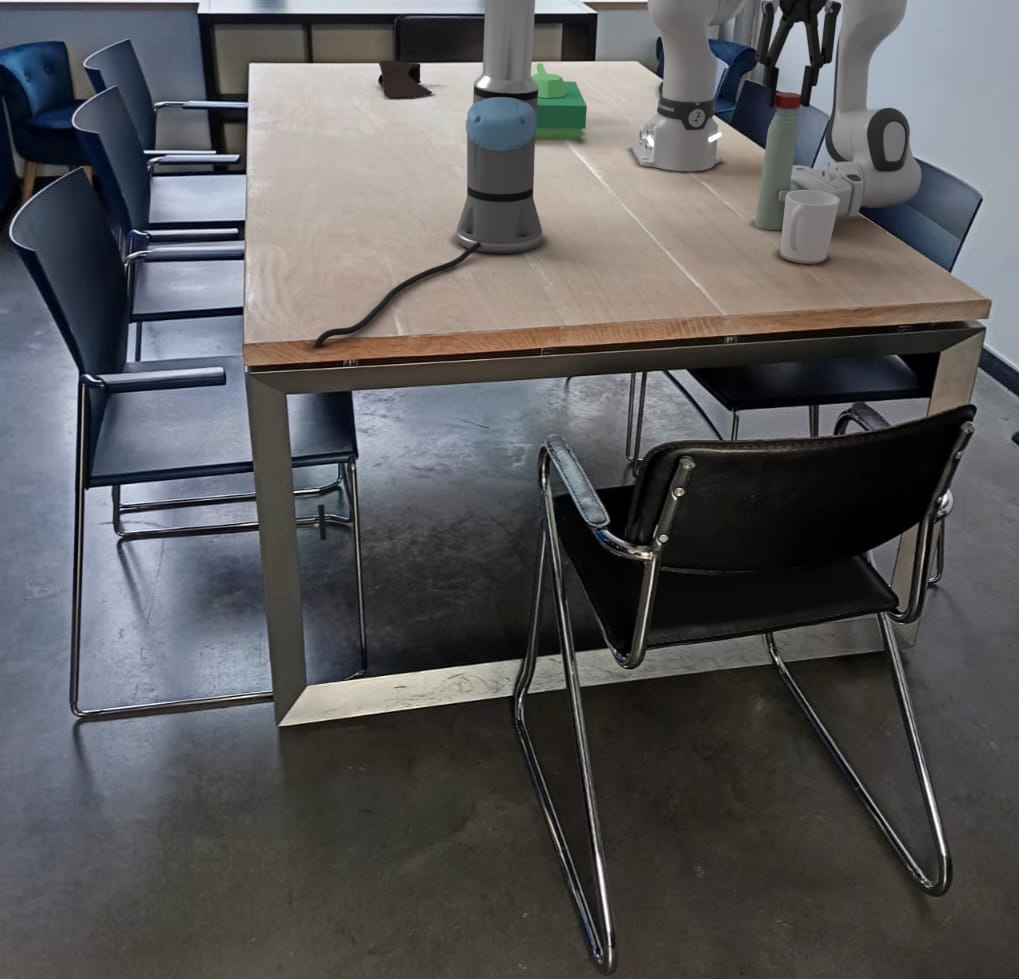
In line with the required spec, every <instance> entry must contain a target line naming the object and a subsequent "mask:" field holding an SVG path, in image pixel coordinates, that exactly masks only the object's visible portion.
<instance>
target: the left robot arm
mask: <svg viewBox="0 0 1019 979" xmlns="http://www.w3.org/2000/svg"><path fill="white" fill-rule="evenodd" d="M484 1H485V4H484V26H483V27H484V28H483V29H484V30H483V53H482V54H483V56H482V72H481V75H479V77H478V78H476V80H475V81H473V94H472V95H473V98H472V105H471V106H470V107H469V109H468V111H467V117H466V120H465V121H466V122H465V130H466V192H467V193H466V198H465V202H464V205H463V209H462V211H461V214H460V218H459V220H458V224H457V227H456V241H457V243H458V244H459V245H461V246H462V247H464V248H466V250H465V251H464V252H462V254H461V255H459V256H458V257H456V258H454V259H453V260H451V261H448V262H446V263H443V264H440V265H437V266H434V267H431V268H428V269H426V270H424V271H422V272H420V273H417V274H416V275H414V276H411V277H410V278H407V279H406V280H404V281H403V282H401V283H400V284H398V285H397V286H395V287H393V288H392V289H390V291H389V292H388V293H387V294H386V295H385V296H384V297H383V299H381V301H380V302H379V303H378V304H377V305H376V306H375V307H374V308H373V309H372V310H371V311H370V312H369V313H368V314H367V315H366V316H365V317H364V318H363V319H362V320H361V321H359V322H357V323H356V324H354V325H352V326H348V327H338V328H331V329H328V330H326V331H324V332H323V333H321V334H320V335H319V336H318V338H317V339H316V340H315V342H314V344H313V347H312V348H313V349H319V348H321V347H322V345H323V343H324V342H325V341H326V340H328V339H329V338H331V337H336V336H346V335H347V336H348V335H351V334H354V333H356V332H358V331H360V330H362V329H363V328H365V327H366V326H367V325H368V324H370V323H371V322H372V321H373V320H374V319H375V318H376V317H377V316H378V315H379V313H381V312H382V311H383V310H384V309H385V307H387V305H388V304H389V302H391V300H392V299H393V298H394V297H395V296H396V295H398V294H399V293H400V292H402V291H403V290H404V289H406V288H407V287H409V286H411V285H412V284H415V283H417V282H419V281H421V280H423V279H425V278H426V277H430V276H432V275H434V274H437V273H441V272H443V271H445V270H449V269H451V268H453V267H456V266H457V265H460V264H461V263H462V262H463V261H464V260H466V259H467V258H468V257H469V256H470V255H472V254H473V253H474V252H479V253H486V254H497V255H499V254H500V255H506V254H507V255H508V254H517V253H524V252H527V251H530V250H533V249H536V248H538V247H539V246H540V245H541V244H542V243H543V229H542V224H541V221H540V220H541V219H540V218H539V214H538V213H539V212H538V210H537V206H536V204H535V199H534V184H535V181H534V180H535V157H536V156H535V151H536V140H535V136H536V131H537V105H538V84H537V83H536V82H535V81H534V80H533V78H532V77H531V76H532V62H533V48H534V47H533V45H534V31H535V30H534V29H535V28H534V27H535V13H536V11H535V10H536V0H484ZM760 6H761V13H762V17H761V24H760V28H759V35H758V39H757V45H756V50H755V56H754V60H755V62H756V63H758V64H760V65H763V66H764V69H763V77H762V85H763V87H765V88H766V90H765V91H766V92H765V96H764V97H765V99H764V105H765V106H767V107H768V108H771V109H772V108H775V106H774V103H775V96H776V93H777V88H778V82H779V74H780V68H779V67H777V63H778V61H779V58H780V56H781V53H782V51H783V48H784V46H785V44H786V41H787V39H788V37H789V34H790V32H791V30H792V29H793V27H794V25H795V24H797V23H798V24H799V23H801V22H802V23H803V25H804V27H805V33H806V42H807V49H808V51H807V52H808V58H809V64H810V65H808V64H807V65H806V64H805V65H804V70H803V76H802V83H801V90H800V95H801V101H800V106H803V107H804V108H809V107H810V103H811V96H812V91H813V87H817V85H818V83H819V82H818V81H819V77H820V70H821V69H822V68H823V66H824V65H827V64H828V65H829V64H831V63H832V62H833V55H834V46H835V38H836V29H837V19H838V16H839V14H840V12H841V9H842V3H841V2H839V1H836V0H769V1H768V0H763V1H762V2H761V5H760ZM778 7H779V9H780V11H781V13H782V14H781V16H780V19H779V23H778V27H777V29H776V32H775V35H774V37H773V39H771V38H772V33H773V28H774V21H775V14H776V13H777V12H778ZM823 8H824V10H823ZM822 10H823V11H824V13H825V14H824V18H823V28H822V37H821V44H820V37H819V18H818V15H819V14H820V12H821V11H822ZM771 40H772V42H771ZM770 43H771V44H770ZM317 511H318V523H319V537H320V538H319V539H320V540H321V541H323V542H324V541H327V525H326V513H325V504H317Z"/></svg>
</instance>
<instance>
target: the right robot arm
mask: <svg viewBox="0 0 1019 979" xmlns="http://www.w3.org/2000/svg"><path fill="white" fill-rule="evenodd" d="M746 2H747V0H647V12H648V16H649V18H650V20H651V22H652V23H653V24H654V25H655V26H656V28H657V29H658V31H659V35H660V38H661V43H662V48H663V58H664V59H663V60H664V64H663V67H664V68H663V80H662V81H661V82H660V84H659V86H658V93H659V99H658V102H657V108H656V113H655V114H654V115H653V116H652V118H650V120H649V121H648V122H646V124H644V127H643V129H640V130H639V140H640V141H642V142H639V143H634V144H632V145H631V150H632V152H633V154H634V156H635V158H636V159H637V161H638V163H639V164H640V166H643V167H650V168H657V169H661V170H662V169H663V170H665V171H666V170H667V171H674V172H675V171H676V172H697V171H698V172H699V171H700V172H701V171H705V170H710V169H711V168H713V167H714V166H715V165H717V164H720V163H721V162H722V156H720V155H718V152H717V151H718V138H720V137H722V133H721V132H718V131H719V126H718V123H717V122H716V121H715V120H714V118H713V117H714V116H715V110H716V98H715V90H716V80H717V73H718V59H717V56H716V55H715V53H714V52H713V51H712V50H711V48H710V44H709V36H708V29H709V27H714V26H720V25H722V24H724V23H726V22H729V21H731V20H732V19H734V18H735V17H738V16H739V14H740V13H741V12H742V11H743V9H744V8H745V6H746V5H745V4H746ZM907 3H908V0H842V16H841V24H840V31H839V33H838V38H837V42H836V51H835V64H834V77H833V78H834V79H833V80H834V81H833V95H832V96H833V97H832V107H831V108H832V109H831V114H830V117H829V121H828V124H827V127H826V131H825V135H824V136H825V137H824V142H825V148H826V151H827V153H828V155H829V156H830V158H831V160H833V162H828V163H826V164H825V165H824V166H823V167H822V168H821V169H820V170H819V171H818V170H816V169H814V168H812V167H810V166H808V165H803V164H793V168H792V175H791V181H790V188H789V190H787V189H782V190H778V191H777V195H776V198H777V199H778V200H780V201H785V200H786V194H787V193H789V192H792V191H797V190H813V191H821V192H826V193H830V194H832V195H835V196H837V197H838V198H839V199H840V200H839V205H838V210H837V214H836V216H841V215H842V216H843V215H844V216H847V217H857V216H859V213H860V209H861V208H867V209H880V208H881V209H882V208H889V207H895V206H898V205H899V206H900V205H903V204H904V203H907V202H909V201H910V200H912V199H913V197H914V196H915V195H916V194H917V192H918V191H919V188H920V186H921V182H922V168H921V166H920V164H919V163H918V161H916V159H915V157H914V155H913V152H912V148H911V143H910V137H911V128H910V124H909V121H908V119H907V117H906V115H905V114H904V113H903V112H902V111H900V110H899V109H896V108H893V107H881V108H872V109H868V106H867V98H868V85H869V83H868V82H869V70H870V69H869V68H870V64H871V60H872V57H873V55H874V54H875V52H876V50H877V49H878V48H879V47H880V45H881V44H882V43H883V42H884V41H885V40H886V39H887V38H888V37H890V35H892V34H893V33H894V32H895V31H896V30H897V29H898V27H899V26H900V24H901V23H902V21H903V20H904V18H905V15H906V11H907ZM760 185H761V183H760V184H759V186H760Z"/></svg>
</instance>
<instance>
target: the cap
mask: <svg viewBox="0 0 1019 979" xmlns="http://www.w3.org/2000/svg"><path fill="white" fill-rule="evenodd" d="M800 101H801V93H800V94H799V93H796V92H790V91H782V92H776V96H775V103H774V108H777V107H778V108H783V109H795V110H796V109H799V108H800V106H801V104H800Z"/></svg>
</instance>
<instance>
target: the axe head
mask: <svg viewBox="0 0 1019 979" xmlns="http://www.w3.org/2000/svg"><path fill="white" fill-rule="evenodd" d="M378 66H379V68H380V72H381V74H379V75H378V79H377V84H378V85H379V86H380V87H381V88H382V89H383V95H384V96H385V97H388V98H394V99H395V98H396V99H403V98H405V99H406V98H407V99H411V98H418V97H425V96H429V95H432V94H433V91H431V90H430V89H428V88H427V87H425V86H422V85H421V84H422V82H421V63H419V62H410V61H408V62H407V61H397V60H388V59H387V60H380V61H379V62H378Z"/></svg>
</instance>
